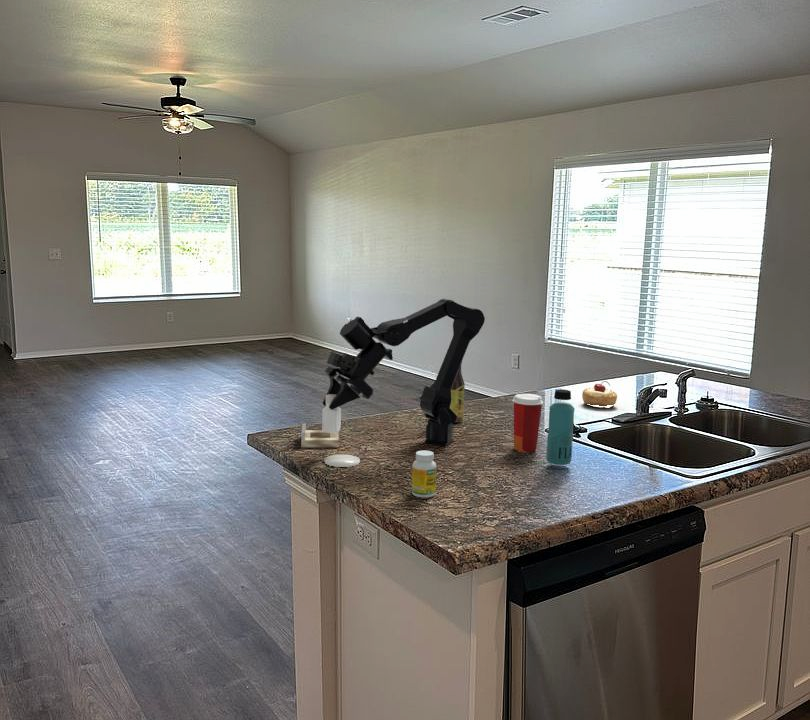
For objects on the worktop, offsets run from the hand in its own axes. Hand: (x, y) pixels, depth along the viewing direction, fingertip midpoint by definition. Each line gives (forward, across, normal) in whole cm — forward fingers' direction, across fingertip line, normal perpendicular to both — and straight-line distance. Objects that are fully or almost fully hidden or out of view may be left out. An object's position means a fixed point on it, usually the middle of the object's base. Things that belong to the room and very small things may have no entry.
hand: (326, 406), depth 187 cm
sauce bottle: (-26, -18, +46) cm, 56 cm away
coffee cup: (-27, +16, +47) cm, 56 cm away
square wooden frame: (+7, -13, +12) cm, 19 cm away
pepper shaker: (+4, 0, +6) cm, 7 cm away
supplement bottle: (+3, +34, +16) cm, 38 cm away
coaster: (+8, +6, +11) cm, 15 cm away
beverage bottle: (-26, +31, +46) cm, 61 cm away
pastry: (-68, -17, +89) cm, 113 cm away
